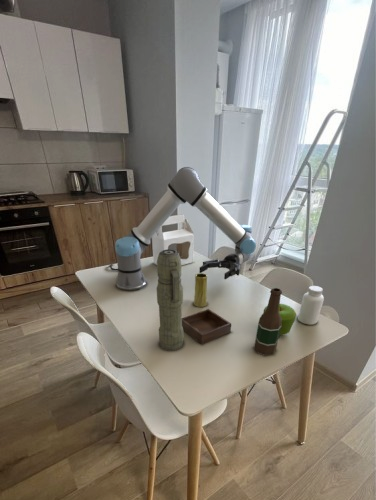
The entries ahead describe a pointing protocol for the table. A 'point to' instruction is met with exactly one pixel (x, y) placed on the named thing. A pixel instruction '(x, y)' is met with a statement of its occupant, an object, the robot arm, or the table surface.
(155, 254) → the gable box
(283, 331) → the apple
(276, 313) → the beer bottle
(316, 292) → the pill bottle
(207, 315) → the tray
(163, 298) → the thermos
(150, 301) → the table surface
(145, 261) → the table surface
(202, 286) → the vase
